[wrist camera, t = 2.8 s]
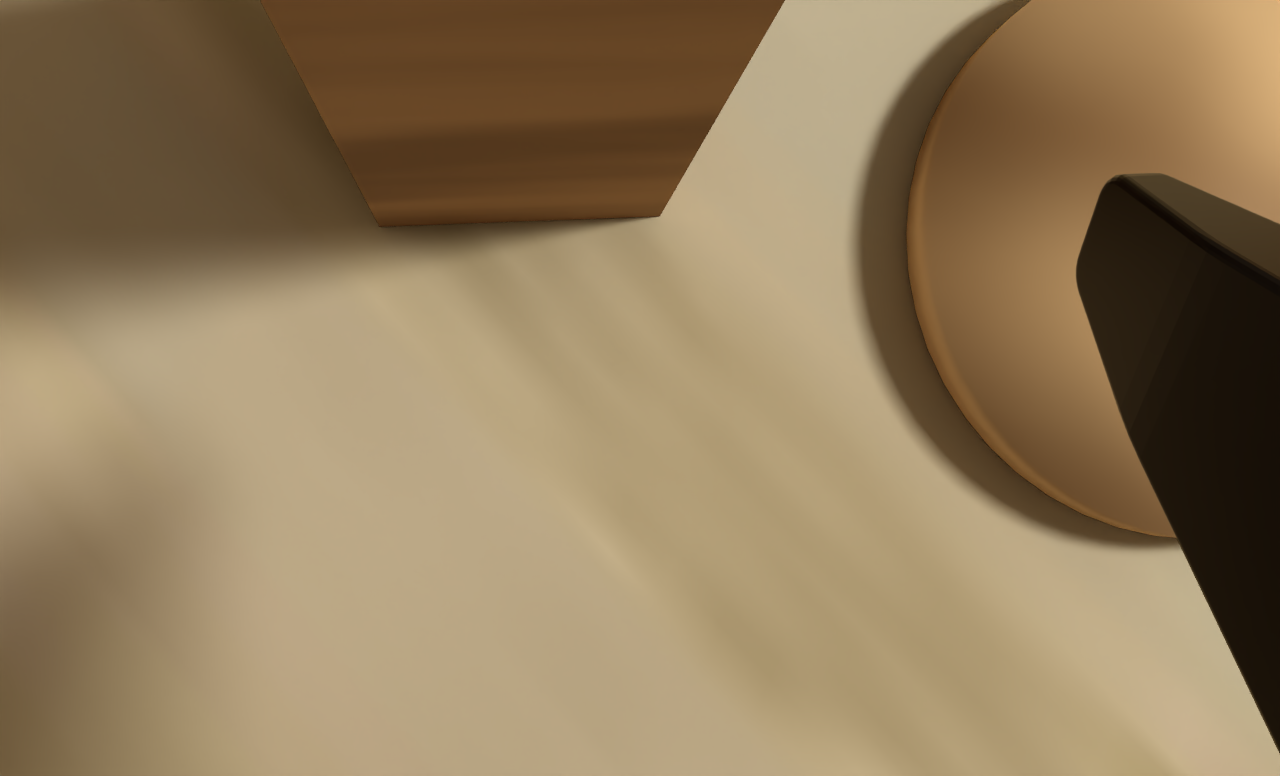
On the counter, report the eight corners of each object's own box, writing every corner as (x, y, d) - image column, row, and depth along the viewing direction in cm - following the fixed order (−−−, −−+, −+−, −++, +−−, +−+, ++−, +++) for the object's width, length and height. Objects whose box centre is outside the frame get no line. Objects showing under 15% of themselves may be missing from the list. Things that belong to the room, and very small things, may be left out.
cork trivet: (1382, 607, 22) (1423, 614, 21) (838, 442, 21) (854, 440, 20) (1502, 71, 23) (1546, 52, 22) (990, -109, 22) (1012, -136, 21)
